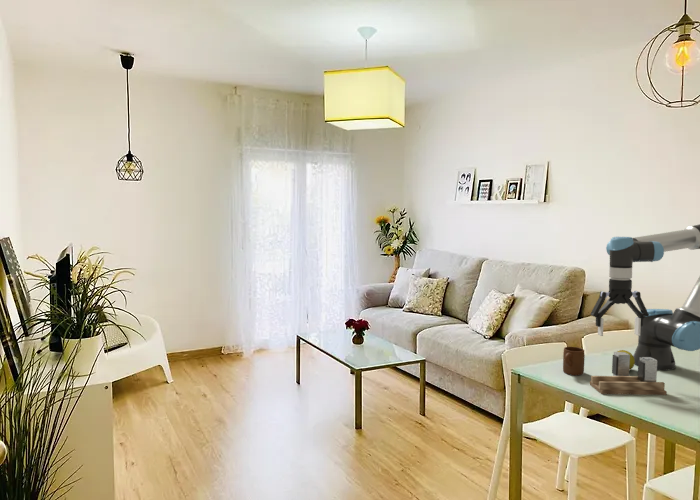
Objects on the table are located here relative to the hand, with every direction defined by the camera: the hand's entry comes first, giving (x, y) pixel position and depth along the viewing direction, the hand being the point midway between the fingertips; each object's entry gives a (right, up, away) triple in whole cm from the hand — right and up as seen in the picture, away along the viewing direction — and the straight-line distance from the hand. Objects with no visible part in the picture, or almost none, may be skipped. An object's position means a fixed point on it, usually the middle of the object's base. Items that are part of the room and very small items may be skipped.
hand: (618, 335), depth 196 cm
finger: (+4, -17, -10) cm, 20 cm away
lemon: (+8, -16, +12) cm, 21 cm away
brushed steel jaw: (+1, -17, +1) cm, 17 cm away
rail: (-2, -18, -10) cm, 20 cm away
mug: (-15, -17, +8) cm, 23 cm away
